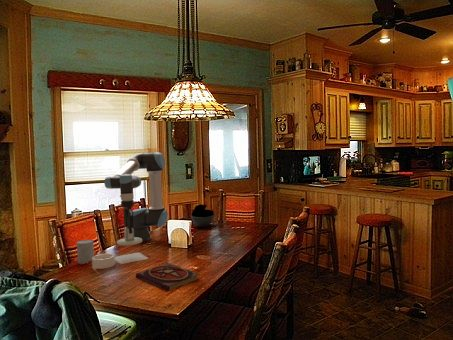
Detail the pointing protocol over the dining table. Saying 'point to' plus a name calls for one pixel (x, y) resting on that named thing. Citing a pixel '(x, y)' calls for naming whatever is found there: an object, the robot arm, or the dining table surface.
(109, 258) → the ceramic bowl
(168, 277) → the book
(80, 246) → the grey cylindrical piece
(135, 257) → the grey mat
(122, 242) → the sage lid
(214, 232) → the dining table surface
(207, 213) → the bowl of black rocks
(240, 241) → the dining table surface
